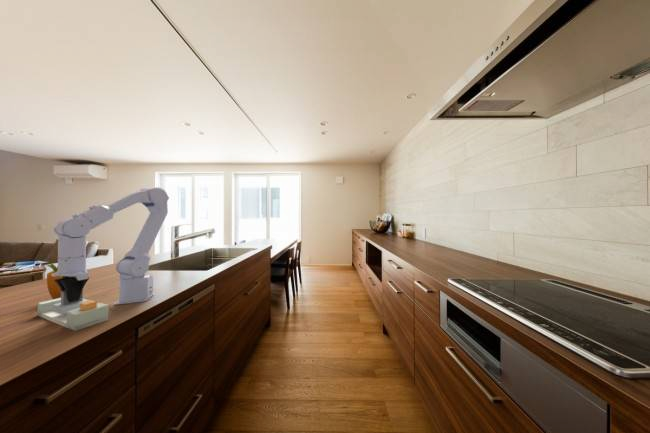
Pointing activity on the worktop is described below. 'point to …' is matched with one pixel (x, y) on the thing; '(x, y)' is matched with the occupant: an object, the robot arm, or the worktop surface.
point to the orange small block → (88, 305)
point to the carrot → (53, 283)
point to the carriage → (67, 304)
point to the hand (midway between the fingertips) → (72, 300)
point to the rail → (73, 315)
